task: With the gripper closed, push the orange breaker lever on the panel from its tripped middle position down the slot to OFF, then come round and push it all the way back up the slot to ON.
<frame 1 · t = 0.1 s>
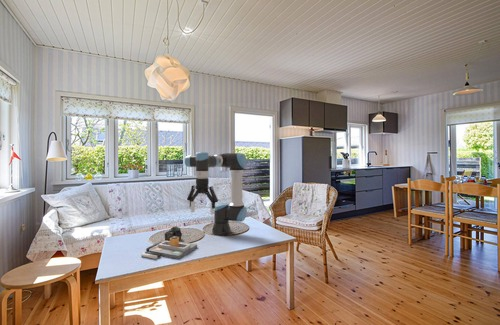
hand: (202, 213, 145), 28 cm above the table, fingers open, 13 cm apart
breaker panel: (174, 250, 158), on the table
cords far: (150, 256, 148), on the table
camera: (174, 240, 178), on the table
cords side: (156, 247, 162), on the table
breaker lever: (174, 242, 158), point 6 cm above the table, slide at 0.0 cm
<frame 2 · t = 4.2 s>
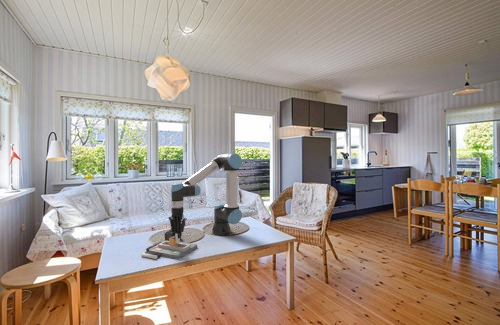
hand: (177, 242, 157), 5 cm above the table, fingers closed
breaker lever: (173, 241, 158), point 6 cm above the table, slide at -0.5 cm, touching gripper
everything else where it was.
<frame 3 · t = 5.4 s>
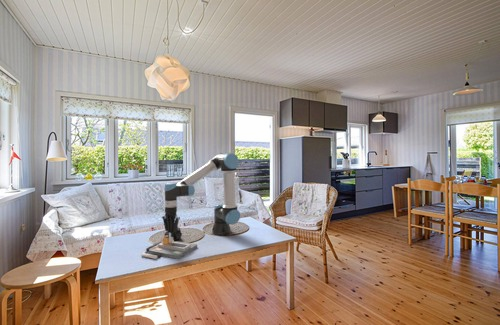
hand: (171, 241, 159), 5 cm above the table, fingers closed
breaker lever: (167, 240, 160), point 6 cm above the table, slide at -5.8 cm, touching gripper
everything else where it was.
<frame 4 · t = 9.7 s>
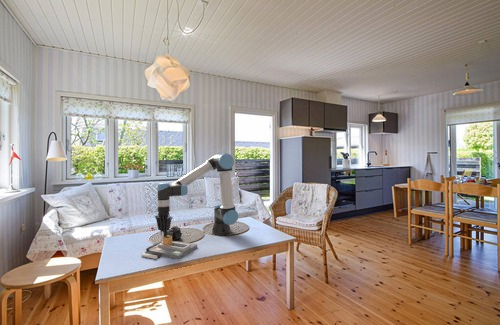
hand: (163, 240, 161), 5 cm above the table, fingers closed
breaker lever: (167, 240, 160), point 6 cm above the table, slide at -5.5 cm, touching gripper
everything else where it was.
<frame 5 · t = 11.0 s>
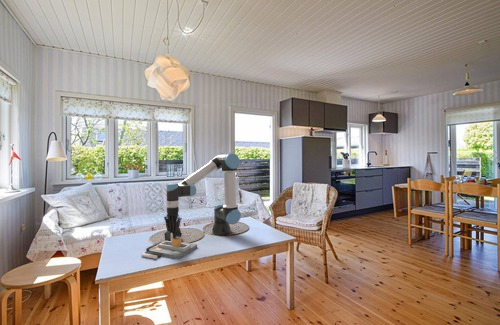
hand: (172, 242, 158), 5 cm above the table, fingers closed
breaker lever: (176, 242, 157), point 6 cm above the table, slide at 2.0 cm, touching gripper
everything else where it was.
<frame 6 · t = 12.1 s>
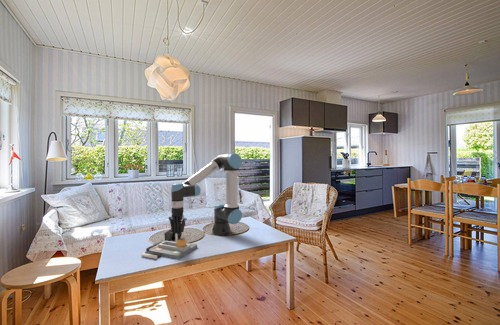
hand: (177, 242, 157), 5 cm above the table, fingers closed
breaker lever: (181, 243, 156), point 6 cm above the table, slide at 5.8 cm, touching gripper
everything else where it was.
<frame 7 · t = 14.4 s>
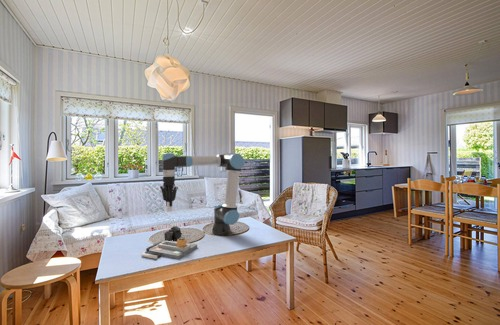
hand: (169, 211, 161), 25 cm above the table, fingers closed
breaker lever: (181, 243, 156), point 6 cm above the table, slide at 5.9 cm
everything else where it was.
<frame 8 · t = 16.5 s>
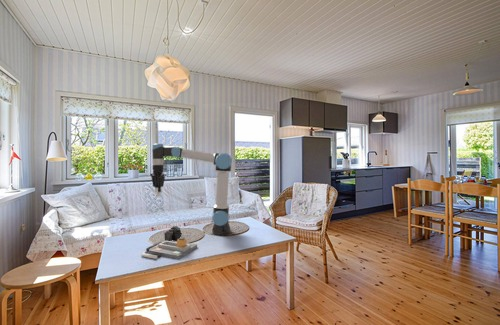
hand: (158, 196, 178), 32 cm above the table, fingers closed
nothing on the table moved.
at the end: breaker lever slide at 5.9 cm; breaker lever touching nothing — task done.
